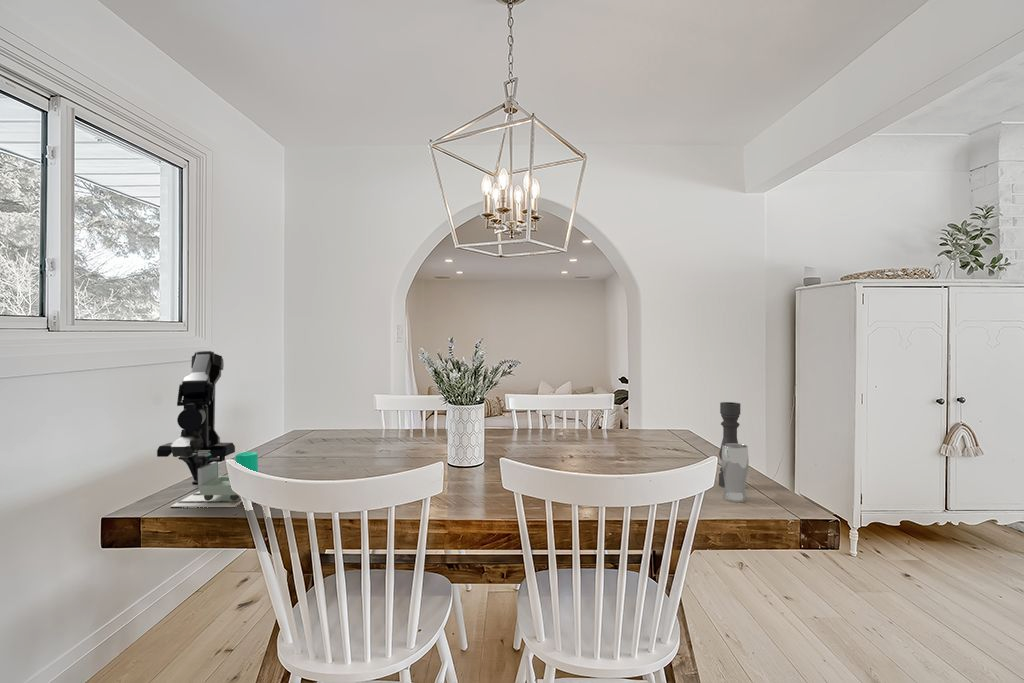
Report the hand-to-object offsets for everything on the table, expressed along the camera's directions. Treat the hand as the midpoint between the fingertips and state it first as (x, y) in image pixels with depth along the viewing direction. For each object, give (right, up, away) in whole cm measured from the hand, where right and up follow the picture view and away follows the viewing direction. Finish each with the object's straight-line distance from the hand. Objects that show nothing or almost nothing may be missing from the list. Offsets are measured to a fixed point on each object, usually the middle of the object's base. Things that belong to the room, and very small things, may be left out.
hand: (196, 480), depth 151 cm
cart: (+8, -4, 0) cm, 9 cm away
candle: (+8, -6, +11) cm, 15 cm away
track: (+5, -6, 0) cm, 8 cm away
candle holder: (+153, -5, +14) cm, 154 cm away
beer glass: (+150, -6, +1) cm, 150 cm away
